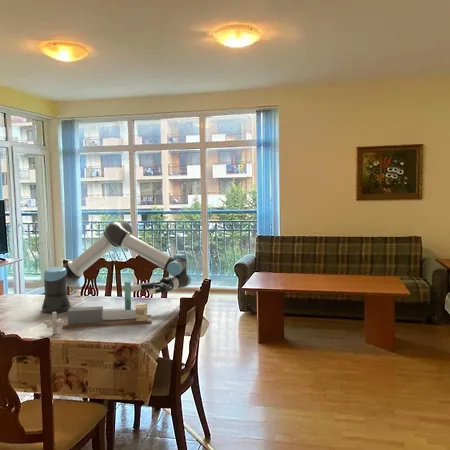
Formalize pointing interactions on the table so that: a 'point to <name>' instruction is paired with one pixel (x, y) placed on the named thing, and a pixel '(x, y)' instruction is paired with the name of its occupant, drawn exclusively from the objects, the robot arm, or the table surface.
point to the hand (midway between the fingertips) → (140, 290)
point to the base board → (110, 322)
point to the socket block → (141, 311)
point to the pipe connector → (54, 322)
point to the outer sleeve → (85, 315)
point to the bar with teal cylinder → (121, 312)
